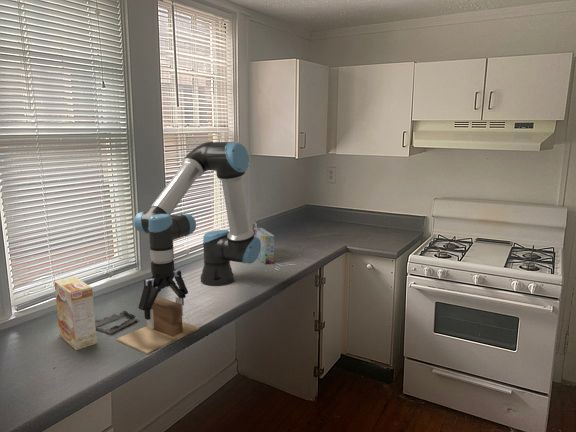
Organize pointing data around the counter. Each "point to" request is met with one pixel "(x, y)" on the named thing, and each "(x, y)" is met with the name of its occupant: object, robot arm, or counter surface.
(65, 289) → the coffeecake box
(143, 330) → the light wood board
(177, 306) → the walnut slab
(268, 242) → the snack box
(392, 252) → the counter surface
